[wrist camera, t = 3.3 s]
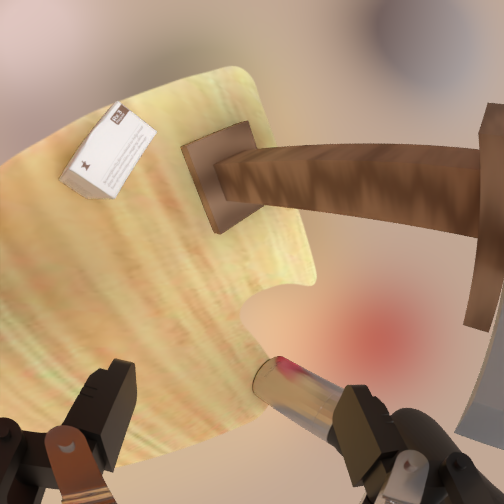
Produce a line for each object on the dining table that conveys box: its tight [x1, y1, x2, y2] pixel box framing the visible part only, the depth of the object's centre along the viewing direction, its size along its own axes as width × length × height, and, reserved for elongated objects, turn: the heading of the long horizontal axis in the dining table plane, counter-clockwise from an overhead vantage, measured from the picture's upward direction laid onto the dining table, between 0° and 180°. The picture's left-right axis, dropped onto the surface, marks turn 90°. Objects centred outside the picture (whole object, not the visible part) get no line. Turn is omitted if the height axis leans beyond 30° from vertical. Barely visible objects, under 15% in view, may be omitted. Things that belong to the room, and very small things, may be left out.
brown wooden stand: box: [181, 103, 504, 332], centre depth 26 cm, size 12×12×33 cm
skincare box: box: [59, 101, 157, 199], centre depth 22 cm, size 6×4×12 cm
